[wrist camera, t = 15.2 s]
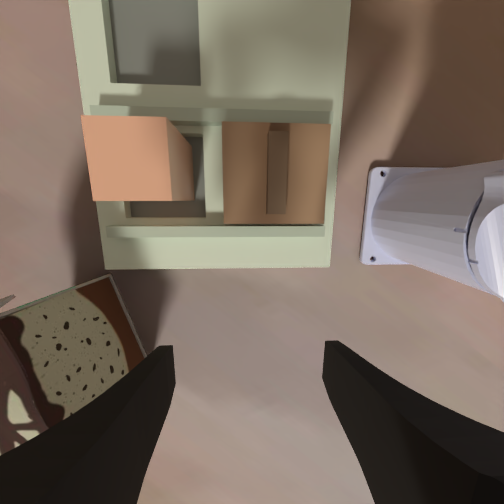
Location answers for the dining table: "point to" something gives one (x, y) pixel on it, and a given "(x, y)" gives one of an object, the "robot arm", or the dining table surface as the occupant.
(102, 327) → the food container
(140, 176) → the block
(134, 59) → the board
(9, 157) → the dining table surface
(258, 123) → the cover
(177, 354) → the dining table surface
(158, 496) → the dining table surface
